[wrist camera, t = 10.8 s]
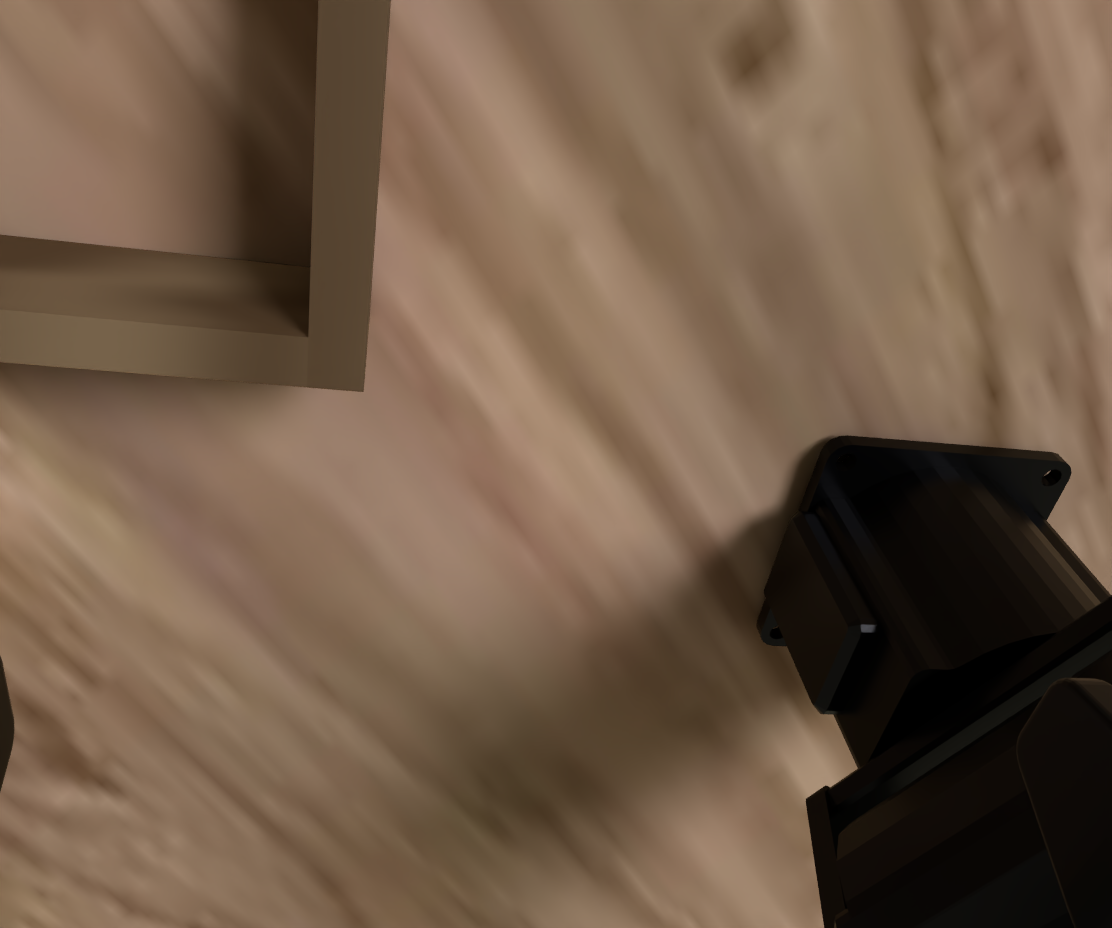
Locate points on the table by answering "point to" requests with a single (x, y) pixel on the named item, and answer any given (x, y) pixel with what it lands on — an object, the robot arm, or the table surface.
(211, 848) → the table surface
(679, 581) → the table surface
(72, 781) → the table surface
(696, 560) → the table surface
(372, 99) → the wooden frame
